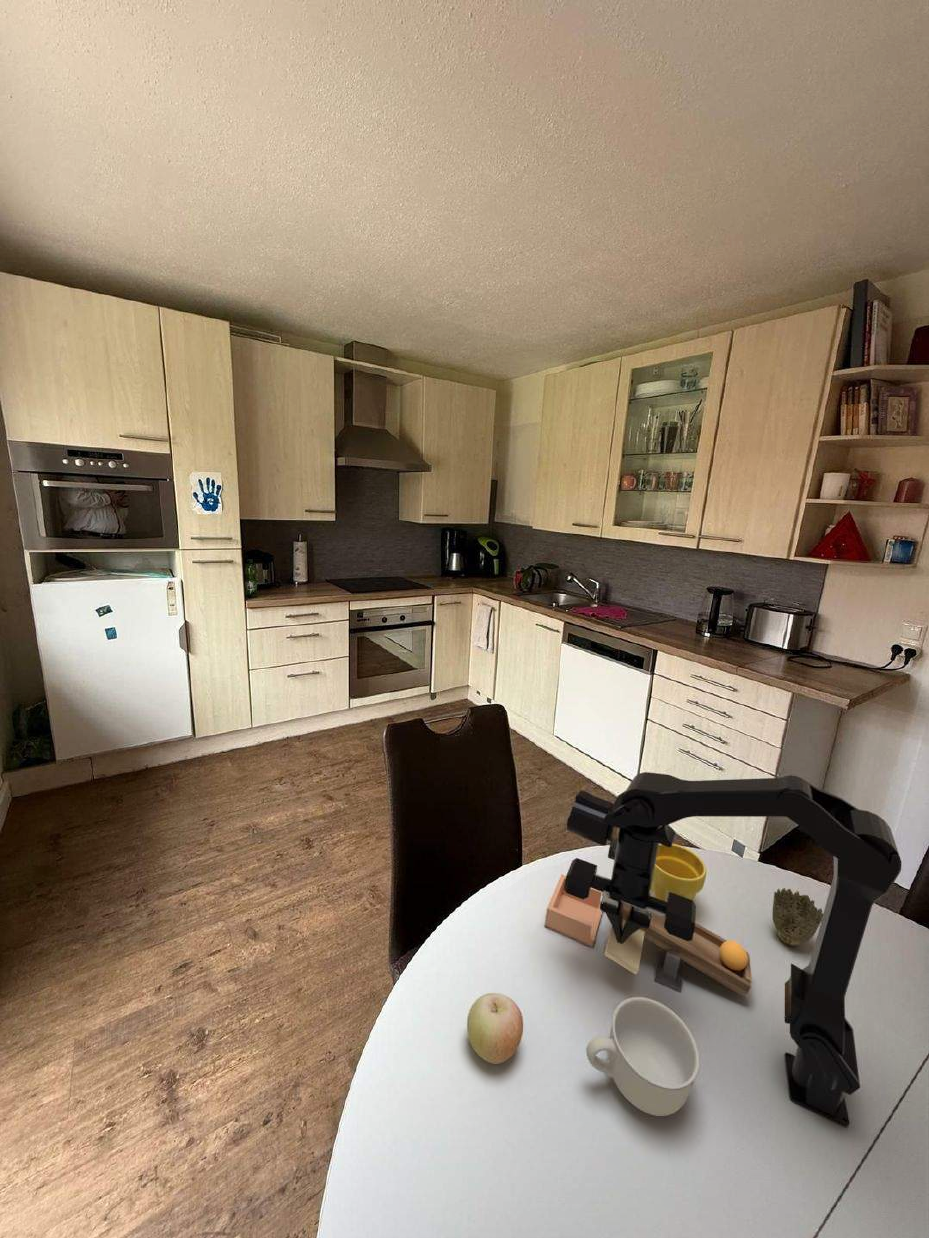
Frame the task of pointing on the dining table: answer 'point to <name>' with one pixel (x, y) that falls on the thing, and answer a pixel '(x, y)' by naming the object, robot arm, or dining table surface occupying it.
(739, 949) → the ball
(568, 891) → the robot arm
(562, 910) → the peach open tray
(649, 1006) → the teacup
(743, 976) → the lever
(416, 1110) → the dining table surface
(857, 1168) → the dining table surface
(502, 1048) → the fruit
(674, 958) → the seesaw stand
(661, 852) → the plant pot
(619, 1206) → the dining table surface
